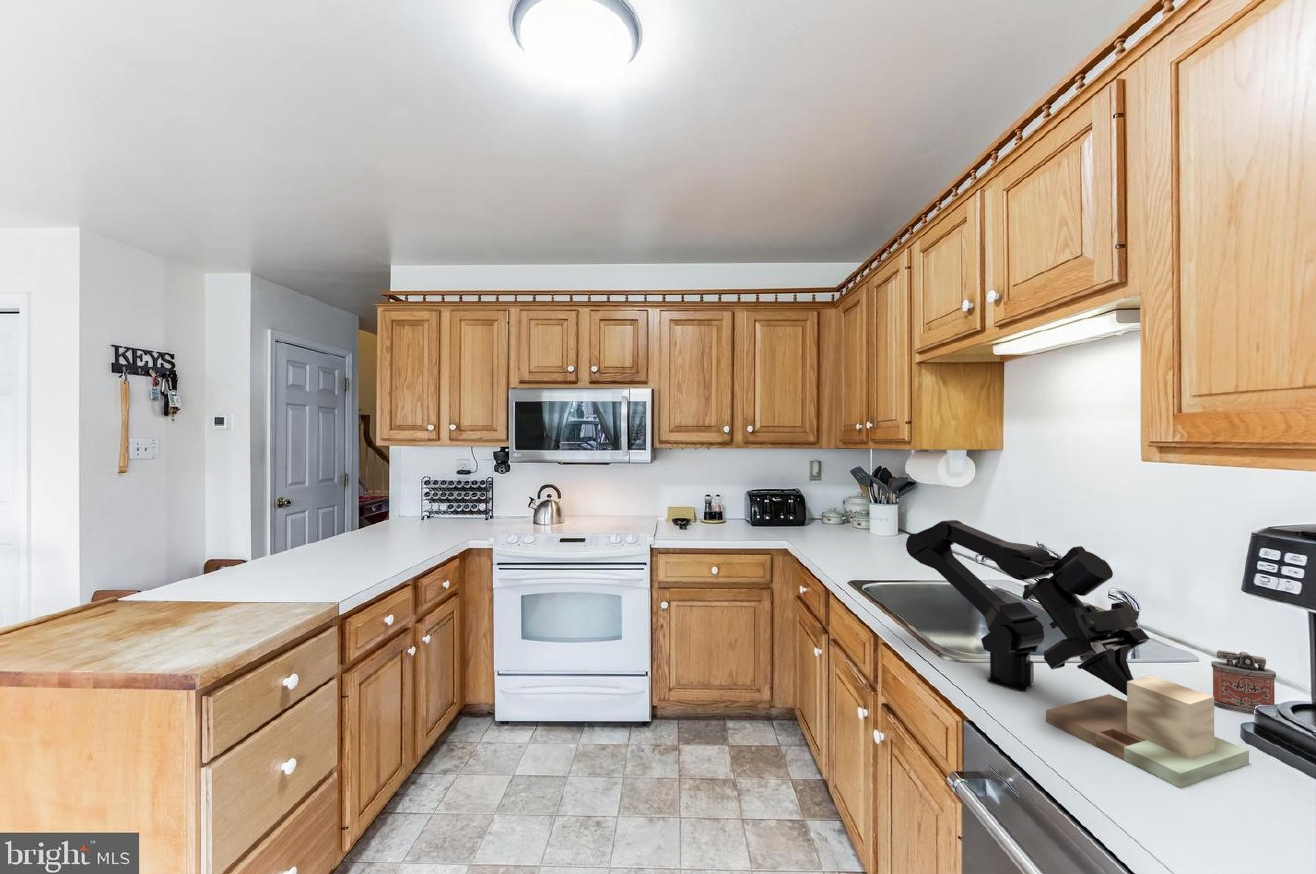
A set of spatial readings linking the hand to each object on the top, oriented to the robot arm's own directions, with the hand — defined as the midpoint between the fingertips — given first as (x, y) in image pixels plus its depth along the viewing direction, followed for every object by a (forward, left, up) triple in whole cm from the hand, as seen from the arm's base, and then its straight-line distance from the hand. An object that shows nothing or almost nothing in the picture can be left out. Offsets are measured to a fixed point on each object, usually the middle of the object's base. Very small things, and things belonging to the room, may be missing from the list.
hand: (1136, 698), depth 90 cm
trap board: (0, 0, -7) cm, 7 cm away
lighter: (+12, +25, -7) cm, 29 cm away
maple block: (+4, -2, -5) cm, 6 cm away
